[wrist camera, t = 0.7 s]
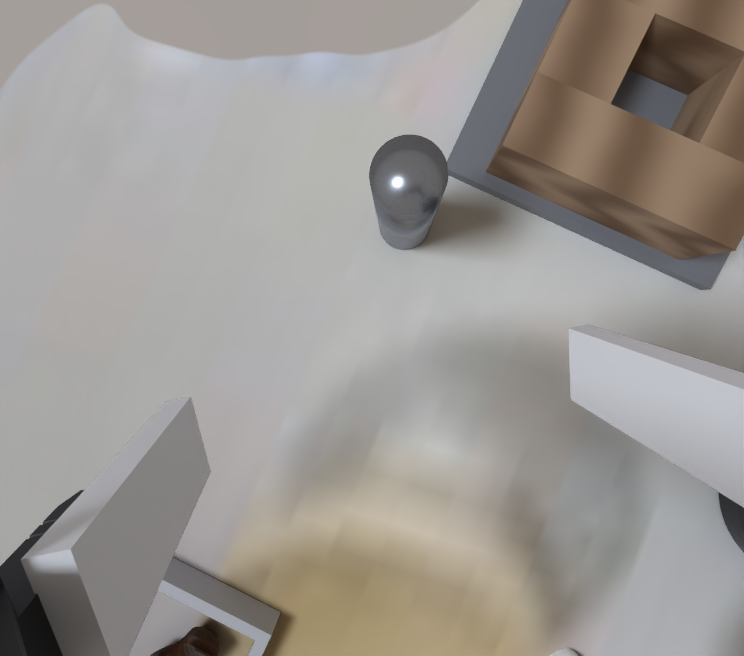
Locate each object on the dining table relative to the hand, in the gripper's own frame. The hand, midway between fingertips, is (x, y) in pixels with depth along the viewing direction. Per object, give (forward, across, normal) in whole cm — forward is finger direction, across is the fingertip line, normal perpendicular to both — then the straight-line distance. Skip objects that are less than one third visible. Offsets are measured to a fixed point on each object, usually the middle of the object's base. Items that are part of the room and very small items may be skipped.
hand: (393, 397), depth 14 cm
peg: (+20, -6, -6) cm, 22 cm away
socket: (+18, -23, -11) cm, 31 cm away
